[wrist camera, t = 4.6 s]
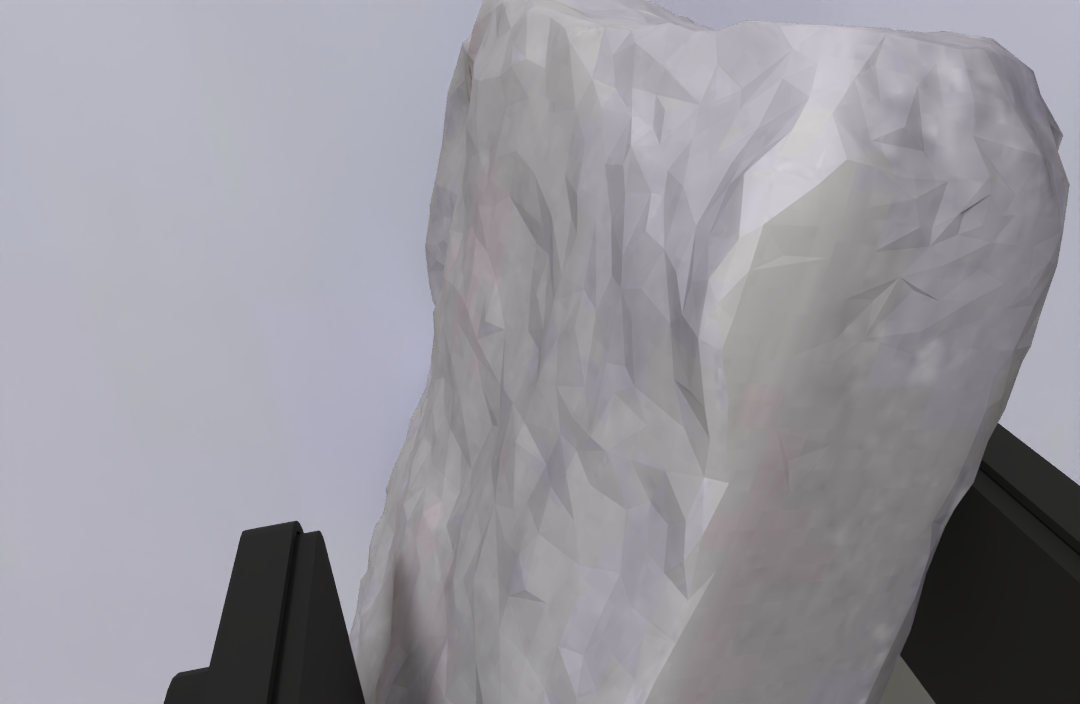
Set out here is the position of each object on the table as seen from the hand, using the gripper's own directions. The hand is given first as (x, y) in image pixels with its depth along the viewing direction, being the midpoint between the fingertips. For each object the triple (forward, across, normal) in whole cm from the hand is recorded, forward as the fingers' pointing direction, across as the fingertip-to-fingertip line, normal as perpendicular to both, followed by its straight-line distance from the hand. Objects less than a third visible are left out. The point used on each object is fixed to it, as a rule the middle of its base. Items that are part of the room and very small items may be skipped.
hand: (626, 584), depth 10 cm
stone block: (+8, 0, 0) cm, 8 cm away
